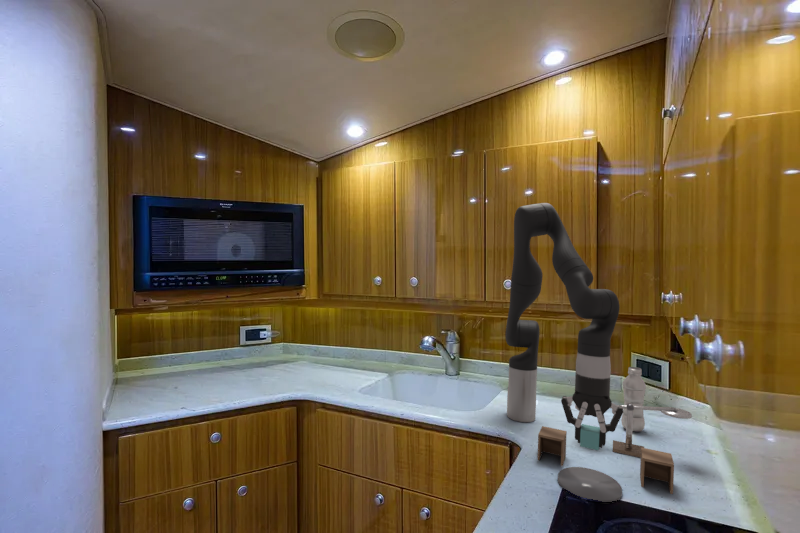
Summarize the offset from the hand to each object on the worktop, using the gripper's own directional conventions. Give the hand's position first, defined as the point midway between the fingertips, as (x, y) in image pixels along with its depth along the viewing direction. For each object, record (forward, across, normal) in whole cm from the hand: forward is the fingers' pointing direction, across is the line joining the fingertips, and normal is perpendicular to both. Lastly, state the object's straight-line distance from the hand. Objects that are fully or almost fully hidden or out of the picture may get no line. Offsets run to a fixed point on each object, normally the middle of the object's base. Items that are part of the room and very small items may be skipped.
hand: (590, 443), depth 99 cm
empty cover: (+10, +14, +10) cm, 20 cm away
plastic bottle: (+10, +10, +44) cm, 46 cm away
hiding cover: (+10, -10, +10) cm, 17 cm away
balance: (+10, +9, +26) cm, 30 cm away
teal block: (0, 0, 0) cm, 0 cm away
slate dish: (+10, 0, 0) cm, 10 cm away
